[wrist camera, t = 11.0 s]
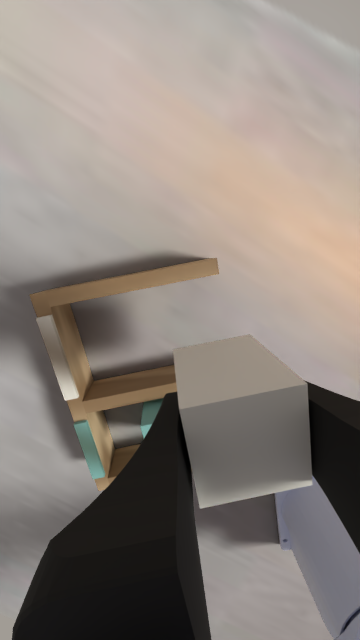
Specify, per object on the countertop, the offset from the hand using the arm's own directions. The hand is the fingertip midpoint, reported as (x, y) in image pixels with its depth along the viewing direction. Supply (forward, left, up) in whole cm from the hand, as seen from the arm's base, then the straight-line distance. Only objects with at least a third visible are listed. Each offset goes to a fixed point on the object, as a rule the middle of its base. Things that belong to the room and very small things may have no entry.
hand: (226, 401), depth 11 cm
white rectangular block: (0, 0, -2) cm, 2 cm away
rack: (-2, +4, -9) cm, 10 cm away
